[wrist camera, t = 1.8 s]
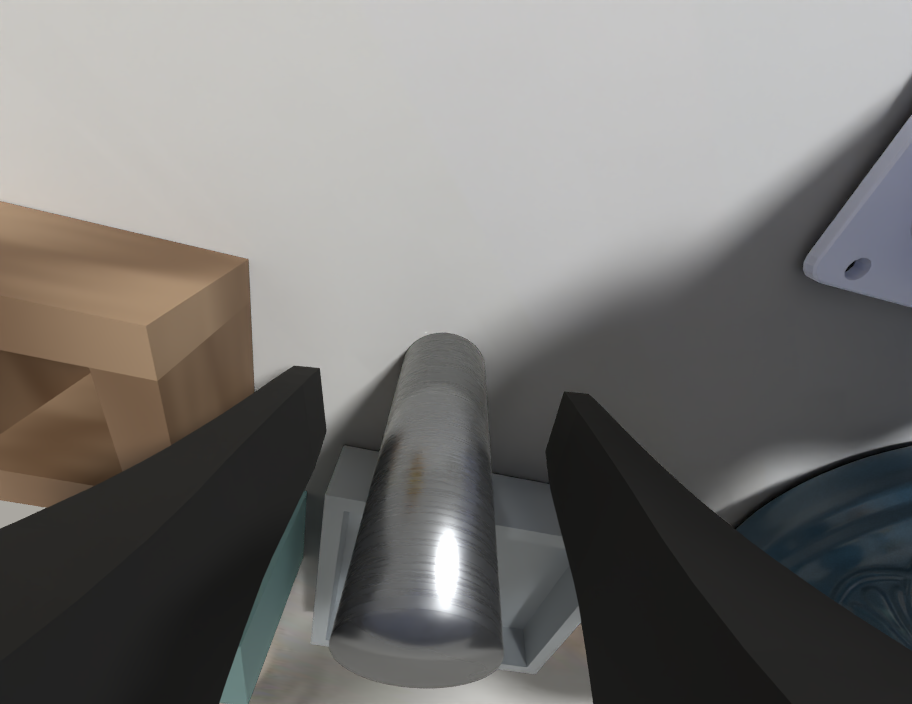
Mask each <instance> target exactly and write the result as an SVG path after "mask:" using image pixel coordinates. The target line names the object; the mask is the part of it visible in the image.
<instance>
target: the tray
mask: <svg viewBox="0 0 912 704" xmlns="http://www.w3.org/2000/svg"><path fill="white" fill-rule="evenodd" d="M378 455H379V452H377V451H372V450H367V449H361V448H356V447H351V446H346V445H344V446H343V448H342V451H341V454H340V456H339V459H338V462H337V464H336V467H335V470H334V472H333V475H332V478H331V480H330V483H329V485H328V488H327V491H326V493H325V499H324V510H323V520H322V531H321V541H320V552H319V562H318V573H317V583H316V594H315V604H314V615H313V625H312V636H311V644H313V645H321V646H328V647H329V640H330V636H331V633H332V629H333V625H334V621H335V617H336V614H337V610H338V606H339V602H340V599H341V595H342V591H343V587H344V583H345V580H346V576H347V572H348V568H349V565H350V561H351V557H352V553H353V549H354V546H355V542H356V538H357V534H358V531H359V527H360V523H361V519H362V515H363V512H364V508H365V504H366V500H367V497H368V493H369V489H370V485H371V481H372V478H373V474H374V470H375V466H376V463H377V459H378ZM492 482H493V497H494V512H495V527H496V542H497V557H498V572H499V587H500V602H501V617H502V632H503V647H504V658H503V662H502V663H501V665H500V666H499V668H498V669H499V670H506V671H514V672H521V673H528V674H536V673H537V672H538V671H539V669H540V668H541V667H542V666H543V665H544V664H545V663H546V662H547V660H548V659H549V658H550V657H551V656H552V655H553V654H554V652H555V651H556V650H557V649H558V648H559V647H560V646H561V645H562V643H563V642H564V641H565V640H566V639H567V638H568V637H569V635H570V634H571V633H572V632H573V631H574V630H575V629H576V628H577V626H578V625H579V624H580V623H581V617H580V611H579V605H578V600H577V595H576V591H575V586H574V581H573V577H572V573H571V569H570V566H569V562H568V558H567V554H566V550H565V546H564V542H563V538H562V534H561V530H560V527H559V523H558V519H557V515H556V511H555V507H554V503H553V499H552V494H551V490H550V484H546V483H541V482H535V481H530V480H525V479H520V478H514V477H509V476H504V475H498V474H493V473H492Z"/></svg>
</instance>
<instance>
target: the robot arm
mask: <svg viewBox="0 0 912 704" xmlns="http://www.w3.org/2000/svg"><path fill="white" fill-rule="evenodd" d="M853 261H856V262H855V264H854V266H853V267H852V268H851V269H849V270H848V271H847V272H845V271H846V269H847V267H848V266H849V265H850V264H851V263H852V262H853ZM803 271H804V273H805V276H807V277H809V278H811V279H813V280H815V281H817V282H819V283H821V284H825V285H829V286H832V287H836V288H840V289H844V290H847V291H851V292H855V293H859V294H862V295H866V296H870V297H873V298H877V299H881V300H885V301H888V302H892V303H896V304H900V305H903V306H907V307H911V308H912V115H911V116H910V118H909V119H908V120H907V122H906V123H905V124H904V126H903V127H902V128H901V130H900V131H899V132H898V134H897V135H896V136H895V138H894V139H893V140H892V142H891V143H890V144H889V146H888V147H887V149H886V150H885V151H884V153H883V154H882V155H881V157H880V158H879V159H878V161H877V162H876V163H875V165H874V166H873V167H872V169H871V170H870V171H869V173H868V174H867V175H866V177H865V178H864V179H863V181H862V182H861V183H860V185H859V186H858V188H857V189H856V190H855V192H854V193H853V194H852V196H851V197H850V198H849V200H848V201H847V202H846V204H845V205H844V206H843V208H842V209H841V210H840V212H839V213H838V214H837V216H836V217H835V218H834V220H833V221H832V222H831V224H830V225H829V226H828V228H827V229H826V231H825V232H824V233H823V235H822V236H821V237H820V239H819V240H818V241H817V243H816V244H815V245H814V247H813V248H812V249H811V251H810V252H809V253H808V255H807V257H806V259H805V261H804V263H803ZM325 434H326V422H325V413H324V404H323V394H322V385H321V376H320V368H312V367H302V366H293V367H292V368H290V369H288V370H287V371H285V372H284V373H282V374H281V375H279V376H278V377H276V378H275V379H273V380H272V381H270V382H269V383H267V384H266V385H265V386H263V387H262V388H260V389H259V390H257V391H256V392H254V393H253V394H251V395H250V396H248V397H247V398H245V399H244V400H242V401H241V402H239V403H238V404H236V405H235V406H233V407H232V408H230V409H229V410H227V411H226V412H224V413H223V414H221V415H220V416H218V417H217V418H215V419H213V420H212V421H210V422H208V423H207V424H205V425H203V426H202V427H200V428H198V429H197V430H195V431H194V432H192V433H190V434H189V435H187V436H185V437H184V438H182V439H180V440H179V441H177V442H176V443H174V444H172V445H171V446H169V447H167V448H165V449H164V450H162V451H160V452H158V453H156V454H155V455H153V456H151V457H149V458H147V459H145V460H144V461H142V462H140V463H138V464H136V465H134V466H132V467H130V468H128V469H126V470H125V471H123V472H121V473H119V474H117V475H115V476H113V477H111V478H109V479H107V480H105V481H103V482H101V483H99V484H97V485H95V486H93V487H91V488H89V489H87V490H84V491H82V492H80V493H78V494H76V495H74V496H71V497H69V498H67V499H65V500H63V501H60V502H58V503H56V504H54V505H52V506H50V507H47V508H45V509H43V510H41V511H39V512H37V513H35V514H32V515H30V516H28V517H26V518H24V519H21V520H19V521H17V522H15V523H12V524H10V525H8V526H5V527H3V528H1V529H0V704H219V702H220V699H221V696H222V693H223V690H224V687H225V684H226V681H227V678H228V675H229V673H230V670H231V667H232V664H233V661H234V658H235V655H236V652H237V650H238V647H239V644H240V641H241V638H242V635H243V632H244V629H245V627H246V624H247V621H248V618H249V616H250V613H251V610H252V608H253V605H254V602H255V599H256V597H257V594H258V591H259V588H260V586H261V583H262V580H263V578H264V575H265V573H266V571H267V568H268V566H269V564H270V561H271V559H272V557H273V555H274V553H275V551H276V548H277V546H278V544H279V542H280V540H281V538H282V536H283V534H284V532H285V530H286V527H287V525H288V523H289V521H290V519H291V517H292V515H293V513H294V511H295V509H296V506H297V504H298V502H299V500H300V498H301V496H302V494H303V492H304V490H305V487H306V485H307V483H308V481H309V479H310V477H311V475H312V472H313V470H314V468H315V465H316V462H317V459H318V456H319V453H320V450H321V447H322V444H323V441H324V437H325ZM546 459H547V468H548V476H549V484H550V490H551V494H552V499H553V503H554V507H555V511H556V515H557V519H558V523H559V527H560V530H561V534H562V538H563V542H564V546H565V550H566V554H567V558H568V562H569V566H570V569H571V573H572V577H573V581H574V586H575V591H576V595H577V600H578V605H579V611H580V617H581V624H582V630H583V636H584V642H585V649H586V655H587V662H588V669H589V676H590V683H591V691H592V698H593V704H912V651H911V650H910V649H908V648H907V647H905V646H903V645H902V644H900V643H899V642H897V641H896V640H894V639H892V638H891V637H889V636H888V635H886V634H885V633H883V632H881V631H880V630H878V629H877V628H875V627H874V626H872V625H870V624H869V623H867V622H866V621H864V620H863V619H861V618H859V617H858V616H856V615H855V614H853V613H852V612H850V611H849V610H847V609H846V608H844V607H843V606H841V605H840V604H838V603H837V602H835V601H834V600H832V599H831V598H829V597H828V596H826V595H825V594H823V593H822V592H820V591H819V590H817V589H816V588H815V587H813V586H812V585H810V584H809V583H808V582H806V581H805V580H803V579H802V578H800V577H799V576H798V575H796V574H795V573H793V572H792V571H791V570H789V569H788V568H786V567H785V566H784V565H782V564H781V563H779V562H778V561H776V560H775V559H774V558H772V557H771V556H770V555H768V554H767V553H766V552H764V551H763V550H761V549H760V548H759V547H757V546H756V545H755V544H753V543H752V542H751V541H749V540H748V539H747V538H746V537H744V536H743V535H742V534H741V533H739V532H738V531H737V530H736V529H734V528H733V527H732V526H730V525H729V524H728V523H727V522H725V521H724V520H723V519H722V518H720V517H719V516H718V515H717V514H715V513H714V512H713V511H712V510H710V509H709V508H708V507H707V506H706V505H705V504H703V503H702V502H701V501H700V500H699V499H697V498H696V497H695V496H694V495H693V494H692V493H691V492H690V491H688V490H687V489H686V488H685V487H684V486H683V485H682V484H681V483H679V482H678V481H677V480H676V479H675V478H674V477H673V476H672V475H670V474H669V473H668V472H667V471H666V470H665V469H664V468H663V467H662V466H661V465H660V464H659V463H658V462H657V461H656V460H655V459H653V458H652V457H651V456H650V455H649V454H648V453H647V452H646V451H645V450H644V449H643V448H642V447H641V446H640V445H639V444H638V443H637V442H636V441H635V440H634V439H633V438H632V437H631V436H630V435H629V434H628V433H627V432H626V431H625V430H624V429H623V428H622V427H621V426H620V425H619V424H618V423H617V422H616V421H615V420H614V419H613V418H612V416H611V415H610V414H609V413H608V412H607V411H606V410H605V409H604V408H603V407H602V406H601V405H600V404H599V403H598V402H597V401H596V400H595V399H594V398H592V397H591V396H590V395H589V394H584V393H573V392H564V394H563V397H562V400H561V403H560V407H559V410H558V413H557V416H556V419H555V423H554V426H553V429H552V432H551V435H550V439H549V442H548V445H547V448H546Z"/></svg>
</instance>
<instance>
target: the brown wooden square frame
mask: <svg viewBox="0 0 912 704" xmlns="http://www.w3.org/2000/svg"><path fill="white" fill-rule="evenodd" d="M253 393H254V372H253V350H252V327H251V305H250V283H249V261H248V259H245V258H241V257H236V256H232V255H228V254H224V253H219V252H215V251H211V250H206V249H202V248H198V247H194V246H189V245H185V244H181V243H177V242H172V241H168V240H164V239H159V238H155V237H151V236H147V235H142V234H138V233H134V232H129V231H125V230H121V229H117V228H112V227H108V226H104V225H99V224H95V223H91V222H87V221H82V220H78V219H74V218H70V217H65V216H61V215H57V214H52V213H48V212H44V211H40V210H35V209H31V208H27V207H22V206H18V205H14V204H10V203H5V202H1V201H0V500H3V501H10V502H15V503H22V504H28V505H34V506H40V507H46V508H47V507H50V506H52V505H54V504H56V503H58V502H60V501H63V500H65V499H67V498H69V497H71V496H74V495H76V494H78V493H80V492H82V491H84V490H87V489H89V488H91V487H93V486H95V485H97V484H99V483H101V482H103V481H105V480H107V479H109V478H111V477H113V476H115V475H117V474H119V473H121V472H123V471H125V470H126V469H128V468H130V467H132V466H134V465H136V464H138V463H140V462H142V461H144V460H145V459H147V458H149V457H151V456H153V455H155V454H156V453H158V452H160V451H162V450H164V449H165V448H167V447H169V446H171V445H172V444H174V443H176V442H177V441H179V440H180V439H182V438H184V437H185V436H187V435H189V434H190V433H192V432H194V431H195V430H197V429H198V428H200V427H202V426H203V425H205V424H207V423H208V422H210V421H212V420H213V419H215V418H217V417H218V416H220V415H221V414H223V413H224V412H226V411H227V410H229V409H230V408H232V407H233V406H235V405H236V404H238V403H239V402H241V401H242V400H244V399H245V398H247V397H248V396H250V395H251V394H253Z"/></svg>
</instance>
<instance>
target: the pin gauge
mask: <svg viewBox="0 0 912 704" xmlns="http://www.w3.org/2000/svg"><path fill="white" fill-rule="evenodd" d="M329 649H330V652H331V654H332V656H333V657H334V659H335V660H336V661H337V662H338V663H339V664H341V665H342V666H343V667H345V668H346V669H348V670H349V671H351V672H353V673H355V674H357V675H359V676H362V677H364V678H367V679H370V680H373V681H376V682H380V683H384V684H389V685H394V686H401V687H410V688H445V687H453V686H459V685H464V684H468V683H472V682H475V681H478V680H480V679H482V678H485V677H487V676H488V675H490V674H492V673H493V672H494V671H496V670H497V669H498V668H499V666H500V665H501V663H502V662H503V658H504V647H503V632H502V617H501V602H500V587H499V572H498V557H497V542H496V527H495V512H494V497H493V482H492V467H491V452H490V437H489V422H488V407H487V392H486V377H485V364H484V359H483V357H482V355H481V353H480V351H479V350H478V348H477V347H476V346H475V345H474V344H473V343H471V342H470V341H469V340H467V339H465V338H463V337H461V336H458V335H455V334H450V333H435V334H430V335H427V336H424V337H422V338H420V339H419V340H417V341H416V342H415V343H413V344H412V345H411V346H410V348H409V349H408V351H407V352H406V354H405V357H404V361H403V364H402V368H401V372H400V376H399V380H398V383H397V387H396V391H395V395H394V398H393V402H392V406H391V410H390V414H389V417H388V421H387V425H386V429H385V432H384V436H383V440H382V444H381V447H380V451H379V455H378V459H377V463H376V466H375V470H374V474H373V478H372V481H371V485H370V489H369V493H368V497H367V500H366V504H365V508H364V512H363V515H362V519H361V523H360V527H359V531H358V534H357V538H356V542H355V546H354V549H353V553H352V557H351V561H350V565H349V568H348V572H347V576H346V580H345V583H344V587H343V591H342V595H341V599H340V602H339V606H338V610H337V614H336V617H335V621H334V625H333V629H332V633H331V636H330V640H329Z"/></svg>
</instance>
